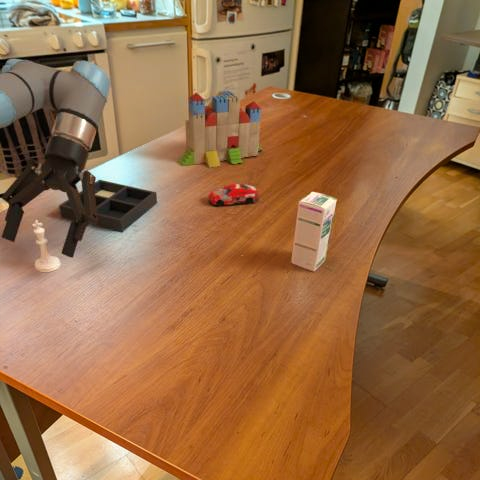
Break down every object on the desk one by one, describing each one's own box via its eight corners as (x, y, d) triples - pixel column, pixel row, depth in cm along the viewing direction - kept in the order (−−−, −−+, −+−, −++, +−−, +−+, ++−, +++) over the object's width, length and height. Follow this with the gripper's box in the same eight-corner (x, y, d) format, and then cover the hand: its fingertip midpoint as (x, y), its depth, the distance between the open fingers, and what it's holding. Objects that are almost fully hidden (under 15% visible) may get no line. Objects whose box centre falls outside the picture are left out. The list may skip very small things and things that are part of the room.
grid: (61, 216, 108) (58, 205, 106) (101, 190, 120) (99, 179, 118) (122, 232, 104) (120, 220, 102) (157, 202, 116) (156, 192, 114)
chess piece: (34, 260, 94) (22, 216, 87) (59, 257, 95) (49, 213, 89) (35, 274, 90) (22, 228, 84) (61, 270, 92) (51, 225, 85)
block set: (253, 144, 152) (257, 80, 139) (273, 159, 142) (279, 92, 130) (171, 153, 142) (168, 85, 130) (186, 170, 132) (185, 99, 120)
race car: (210, 208, 116) (210, 193, 113) (205, 198, 120) (205, 184, 117) (260, 203, 119) (261, 189, 116) (254, 194, 123) (255, 180, 120)
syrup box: (314, 272, 96) (326, 208, 86) (289, 263, 98) (298, 199, 89) (325, 260, 100) (338, 198, 90) (301, 251, 102) (311, 190, 92)
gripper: (135, 164, 90) (103, 267, 89) (29, 142, 96) (-2, 239, 95) (117, 145, 83) (82, 257, 81) (4, 123, 89) (-31, 227, 87)
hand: (36, 247), depth 88 cm, fingers open, 13 cm apart
